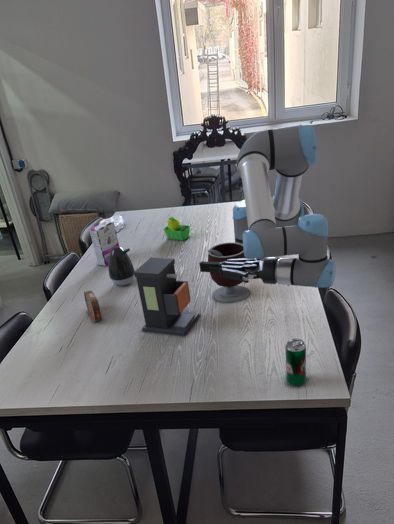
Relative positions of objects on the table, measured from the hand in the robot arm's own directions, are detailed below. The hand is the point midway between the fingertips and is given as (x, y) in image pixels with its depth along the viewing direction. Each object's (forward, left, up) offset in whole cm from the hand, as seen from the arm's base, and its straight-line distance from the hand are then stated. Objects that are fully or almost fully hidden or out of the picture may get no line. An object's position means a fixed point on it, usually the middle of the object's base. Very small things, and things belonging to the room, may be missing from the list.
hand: (200, 266), depth 145 cm
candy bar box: (+46, -65, -22) cm, 83 cm away
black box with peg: (+13, -5, -21) cm, 25 cm away
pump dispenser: (+35, -40, -21) cm, 58 cm away
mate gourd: (-7, -21, -21) cm, 31 cm away
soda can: (-24, +32, -22) cm, 45 cm away
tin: (+41, -14, -22) cm, 48 cm away
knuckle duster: (+54, -112, -22) cm, 126 cm away
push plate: (+7, -3, -15) cm, 17 cm away
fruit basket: (+17, -85, -22) cm, 90 cm away
